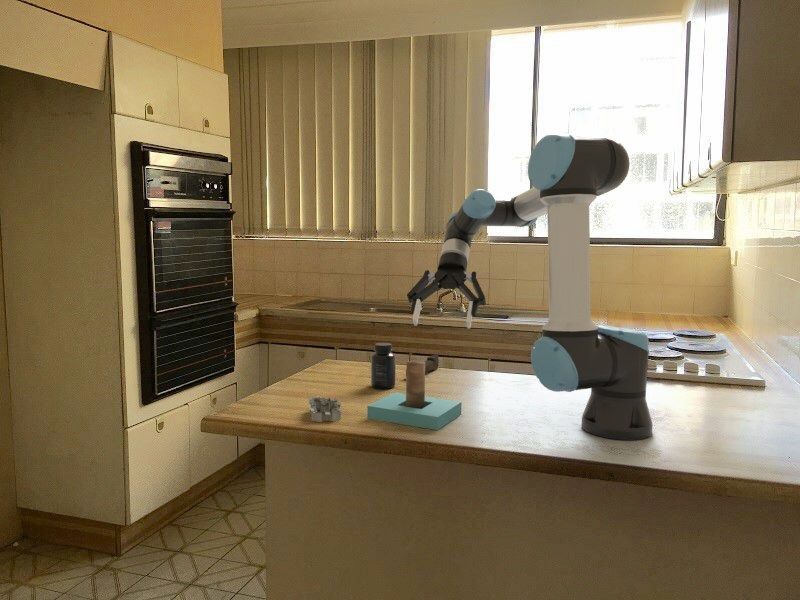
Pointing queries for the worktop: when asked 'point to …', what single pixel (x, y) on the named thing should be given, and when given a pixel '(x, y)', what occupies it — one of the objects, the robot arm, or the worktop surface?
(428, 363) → the dark brown wooden rod
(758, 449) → the worktop surface
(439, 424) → the teal square-hole block
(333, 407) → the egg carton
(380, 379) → the supplement bottle
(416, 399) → the walnut pin
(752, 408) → the worktop surface
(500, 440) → the worktop surface
